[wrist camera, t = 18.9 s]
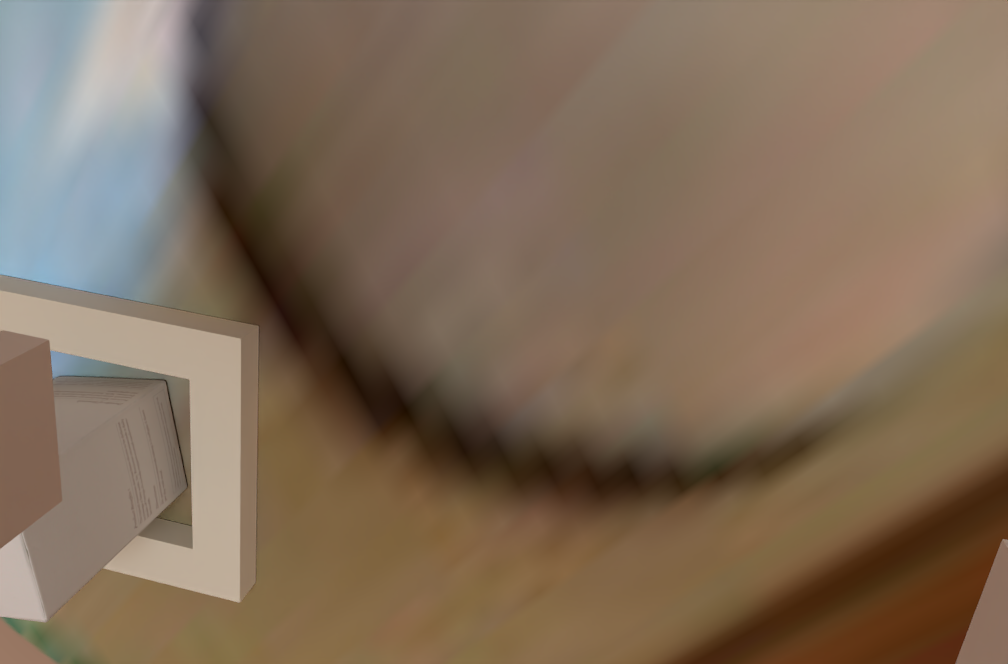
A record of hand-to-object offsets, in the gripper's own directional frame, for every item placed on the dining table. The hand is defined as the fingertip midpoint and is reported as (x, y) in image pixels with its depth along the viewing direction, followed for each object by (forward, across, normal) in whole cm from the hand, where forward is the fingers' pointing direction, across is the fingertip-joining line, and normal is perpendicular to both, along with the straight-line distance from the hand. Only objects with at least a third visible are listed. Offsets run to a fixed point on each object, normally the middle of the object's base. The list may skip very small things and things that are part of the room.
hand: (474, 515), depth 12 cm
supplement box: (+32, -28, -21) cm, 47 cm away
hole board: (+32, -28, -21) cm, 47 cm away
